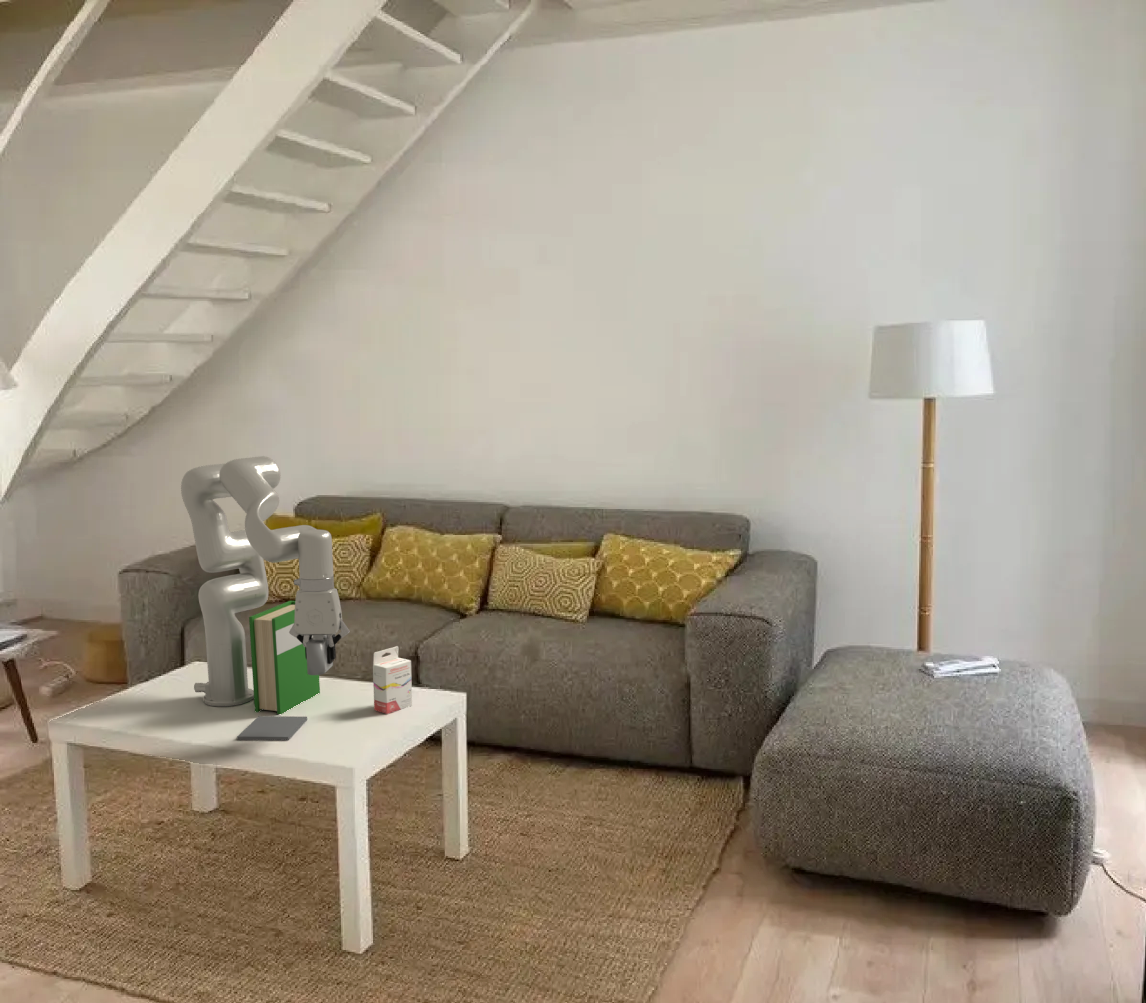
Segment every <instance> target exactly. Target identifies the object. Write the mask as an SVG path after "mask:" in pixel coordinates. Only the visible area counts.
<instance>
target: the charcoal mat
mask: <svg viewBox="0 0 1146 1003" xmlns="http://www.w3.org/2000/svg"><path fill="white" fill-rule="evenodd" d="M307 721H308V716H298V715H297V716H294V715H293V716H289V715H287V716H286V715H285V716H281V715H280V716H279V715H278V716H272V715H271V716H270V715H267V716H266V715H265V716H264V715H260V716H259V715H258V716H257V717H256V718H255V719H254V720H253V721H252V722H250V724H249V725H247V726H246V727H245V728H244V729H243V731H241V732H240V733H239V734H238V735H237V736H236V737H237V741H289V740H290V739H291V738H292V737H293V736H294V735H295V734H296V733H297V732H298V731H299V730H300V729H301V727H302V726H303V725H305V723H306V722H307Z"/></svg>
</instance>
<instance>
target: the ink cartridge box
mask: <svg viewBox="0 0 1146 1003" xmlns="http://www.w3.org/2000/svg"><path fill="white" fill-rule="evenodd" d="M386 653H387V654H388V655H386ZM384 655H385V656H384ZM372 661H373V663H372V678H373V679H372V684H373V685H372V686H373V704H374V706H373V708H374V711H376V712H378V713H383V714H385V715H388V714H391V713H394V712H397V711H400V710H404V709H406V707H407V708H409V707H408V706H410V707H412V706H413V694H412V693H413V691H412V690H413V689H412V685H413V684H412V660H411V659H408V658H407V659H406V658H401V657H399V646H398V645H396V646H394V647H390V648H386V649H383V650H379V651H375V652H373V660H372ZM411 705H412V706H411Z"/></svg>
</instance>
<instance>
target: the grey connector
mask: <svg viewBox="0 0 1146 1003" xmlns="http://www.w3.org/2000/svg"><path fill="white" fill-rule="evenodd" d="M327 647H328V640H327V636H326V635H313V638H311V639H310V640H309V641H308V642H307V643H306V653H307V674H309V675H319V676H320V675H323V674H325V673H326V672H328V671H329V669H331V668H332V667H333V665H334V661H333V662H332V663H331V664H328V661H327Z"/></svg>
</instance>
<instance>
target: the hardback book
mask: <svg viewBox="0 0 1146 1003" xmlns="http://www.w3.org/2000/svg"><path fill="white" fill-rule="evenodd" d="M294 619H295V600H289V601H285V602H284V603H280V604H278V605H276V606H274V607H271V608H268V609H266V610H264V611H263V610H262V611H260V612H258V613H256V614H253V615H251V616H249V617H248V621H249V640H250V654H251V656H250V657H251V671H252V687H253V689H252V690H253V691H254V698H253V703H254V712H255V711H256V712H255V713H259V711H260V710H262V709H264V710H266V711H274V712H276V713H277V714H281V715H283V714H285V713H287V712H288V711H287V710H289V709H290V710H292V709H293V707H294V706H296V705H298V704H299V705H301V704H302V703H301V702H303V701H305V702H306V700H307V701H308V699H309V700H310V699H312V698H314V697H316V696H317V695H316V694H318V693H319V694H321V685H320V684H321V683H320V675H309V674H307V659H306V657H305V647H304V646H303V644H302V643H301V642H300V641H299V640H298V639H297V638H296V637H294V636H292V635H291V634H290V633H289V631H290V629H291V628H292V626H293V624H294ZM312 638H313V635H312ZM319 694H318V695H319ZM315 695H316V696H315ZM313 696H314V697H313ZM311 697H312V698H311ZM300 703H301V704H300ZM303 703H304V702H303ZM299 705H298V706H299ZM296 707H297V706H296ZM291 708H292V709H291ZM294 708H295V707H294ZM264 710H262V711H264ZM290 710H289V711H290ZM286 711H287V712H286ZM260 712H261V711H260ZM284 712H285V713H284ZM282 713H283V714H282Z"/></svg>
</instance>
